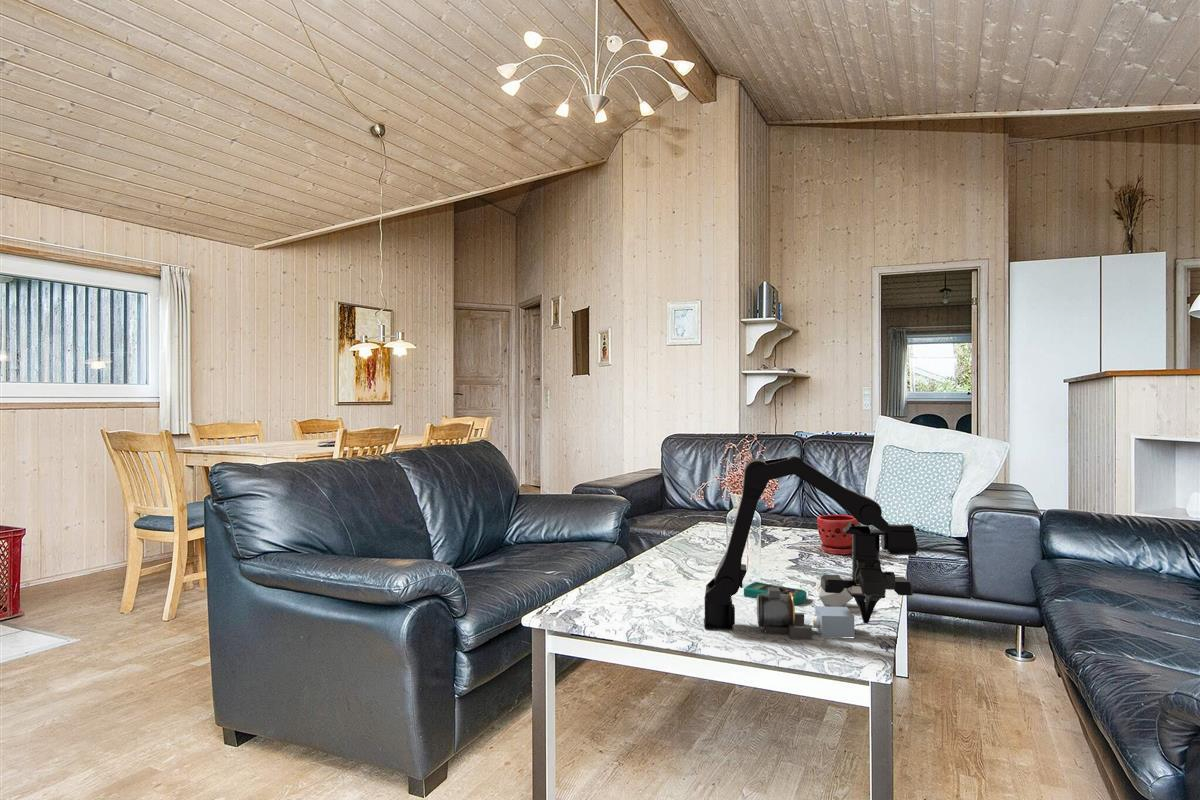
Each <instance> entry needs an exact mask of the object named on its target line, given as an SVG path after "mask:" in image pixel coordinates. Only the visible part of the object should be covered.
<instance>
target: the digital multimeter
mask: <svg viewBox="0 0 1200 800" xmlns="http://www.w3.org/2000/svg"><path fill="white" fill-rule="evenodd" d="M768 587H775V588H779V590H780V594H789V593H792V595H793V599H794V607H797V606H799V605H802V604H803V603H805V602H806V601H807V591H806V590H804V589H799V588H793V587H788V586H781V585H780V586H779V585H775V584H772V583H771V584H770V583H764V582H760V581H754V582H751V583H750V584H748V585H747V586H745V587H743V596H744V597H748V598H754V599H757V595H758V594H768Z"/></svg>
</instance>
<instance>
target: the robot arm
mask: <svg viewBox="0 0 1200 800" xmlns="http://www.w3.org/2000/svg"><path fill="white" fill-rule="evenodd" d="M792 475H794V476H796V477H798V478H799V479H801V480H802V481H804V482H806V483H807V484H809V485H810V486H811V487H813V488H815V489H816V490H818V491H819V492H821V493H823V494H824V495H826V496H827V497H829V498H831V500H834V501H835V502H837V504H839V505H840V506H841V507H843V509H844V510H845V511H847V512H848V513H849V514H850V516H853V517H854V518H855V519H856V520H858V523H860V524H861V525H858V526H855V525H854V524H853V523H852V522H850V523H849V524H848V525H847V526H846V527H845V528H843V531H844V532H845V533H846V534H852V553H851V564H852V566H851V567H852V568H851V569H852V572H851V579H847V580H843V579H842V578H841V577H842V576H841V575H839V574H836V575H831V574H822V576H821V577H820V581H821V587H822V588H823V590H824V591H825V592H827V593H841V592H842V591H843V590H844V588H847V592H848V593H849V594H850V595H851V596H852V597H853V599H854V601H855V603H856V605H857V609H858V611H859V613H860V616H861V619H862V622H863V624H869V622H870V620H871V617H872V615H873V611H874V609H875V607H876V604H877V603H878V602H879V601H880V600H881V599H885V598H886V596H887V595H886V592H887V591H886V590H891V591H894V592H895V593H896V594H897V595H898V596H907V597H908V596H913V595H914V587H913V583H911V581H909V580H908V579H907V578H906V577H904V576H896V575H895V572H893V571H883V570H882V567H881V566H882V564H881V559H880V558H881V557H880V556H881V555H880V548H881V549H882V551H886V554H887V555H889V556H890V555H891V556H912V557H913V556H915V557H916V555H917V554H918V553H917V552H918V541H917V536H916V533H915V526H914V525H913V524H910V523H905V524H889V522H888V521H886V520H885V518H884V517H883V516H882V514H883V513H882V507H881V506H880V504H879V503H877V502H876V501H875V500H874V499H872V498H870V497H869V496H867V495H864V494H862V493H859V492H857V491H855V490H853V489H849V488H847V487H844V486H842V485H841V484H839V483H838V482H837V481H835V480H834V479H832V478H830V477H829V476H827V475H826V474H824V473H823V472H821V471H820V470H817V469H816V468H815V467H813V466H811V465H810V464H809V463H807V462H806V461H804V460H803V459H802V458H801V457H800V456H797V455H790V456H788V457H781V458H773V459H768V460H764V459H762V458H752V459H750V460H748V461H747V462H746V464H745V466H744V471H743V481H742V492H741V499H740V501H739V506H738V510H737V513H736V516H735V520H734V524H733V527H732V531H731V535H730V537H729V540H728V541H729V542H728V545H727V549H726V551H725V553H724V554H723V557H722V558H721V560H720V562H719V564H718V567H717V568H716V570H715V572H714V577H713V578H712V579H711V580H710V581H709V582H708V583H706V585H705V592H704V597H703V598H704V617H703V624H704V625H703V626H704V629H706V630H723V631H724V630H726V631H731V630H732V631H734V626H735V623H736V620H735V619H736V613H735V612H736V608H735V607H736V606H735V604H733V598H732V596H734V595H736V594H738V592H739V590H740V589H744V587H743V581H744V578H745V577H746V574H747V572H748V571H747V565H746V564H743V563H742V560H743V555H744V551H745V549H746V545H747V541H748V537H749V534H750V530H751V527H752V523H753V519H754V516H755V512H756V511H757V510H756V509H757V505H758V503H759V500H760V498H761V496H763V493H764V492H765V490H766V487H767V485H768V483H769V481H771V480H776V479H780V478H783V477H787V476H792ZM870 526H873V527H874V528H876V529H870ZM877 529H878V530H877ZM880 546H881V547H880ZM840 576H841V577H840Z"/></svg>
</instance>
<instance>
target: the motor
mask: <svg viewBox="0 0 1200 800" xmlns="http://www.w3.org/2000/svg"><path fill="white" fill-rule="evenodd" d="M795 607H796V606H794V599H793V595H792V593H789V594H780V590H779V588H775V587H768V594H758V595H757V598H756V617H757V624H758V626H757V627H759V628H762V629H764V631H765V634H766V635H774V636H775V635H779V636H781V635H783V636H789V628H788V627H789V625H795V613H796V611H795ZM795 626H796V625H795Z"/></svg>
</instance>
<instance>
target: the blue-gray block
mask: <svg viewBox="0 0 1200 800" xmlns="http://www.w3.org/2000/svg"><path fill="white" fill-rule="evenodd" d="M814 609H815V610H814V611H815V613H814V615H813V616H812V625H813V628H815V629H816V631H817V632H818V634H819V636H820V637H821V638H822V637H835V638H834V639H837V638H836V637H856V636H855V634H856V633H855V615H853V613H852V611H850V609H849V608H848V607H847V606H842V607H829V606H826V605H823V606H821V605H820V606H817V605H815V608H814Z"/></svg>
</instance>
